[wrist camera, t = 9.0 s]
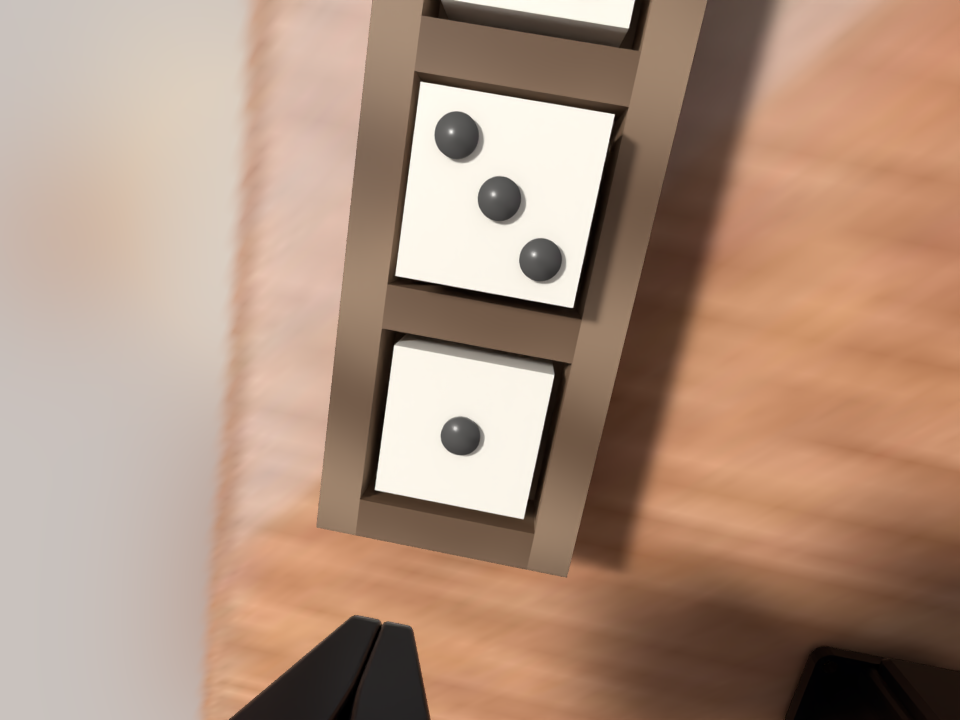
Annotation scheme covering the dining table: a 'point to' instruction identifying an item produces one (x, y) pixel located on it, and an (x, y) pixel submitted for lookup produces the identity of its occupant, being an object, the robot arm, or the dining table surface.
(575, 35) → the tile two
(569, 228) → the tile three
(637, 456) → the dining table surface
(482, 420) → the tile one
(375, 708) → the robot arm
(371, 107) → the button board
